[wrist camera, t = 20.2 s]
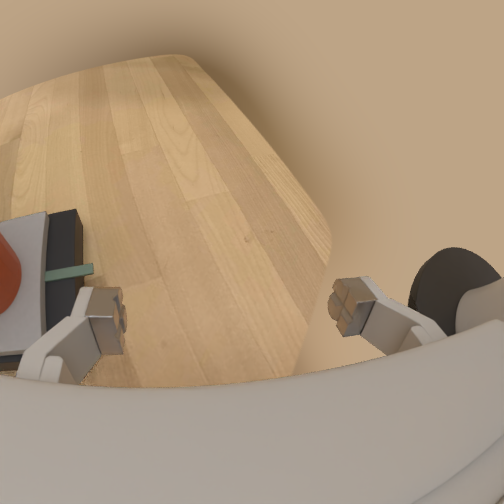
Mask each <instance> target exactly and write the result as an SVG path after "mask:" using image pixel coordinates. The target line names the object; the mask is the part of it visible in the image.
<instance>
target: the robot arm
mask: <svg viewBox="0 0 504 504" xmlns="http://www.w3.org/2000/svg"><path fill="white" fill-rule="evenodd" d="M332 288H333V290H334V292H333V293H332V294H331V295H330V296H329V300H328V311H329V314H330V316H331V318H332V319H334V320H336V321H337V325H336V326H337V328H338V330H339V331H340V333H341V335H342V336H343V337H347V336H354V335H360V336H362V337H363V338H364V339H366V340H367V341H368V342H370V343H371V344H372V345H374V346H375V347H376V348H378V349H379V350H381V351H382V352H383V353H384V354H386V355H387V356H384V357H380V358H376V359H372V360H368V361H364V362H360V363H356V364H351V365H346V366H342V367H337V368H332V369H327V370H322V371H317V372H311V373H306V374H300V375H294V376H287V377H281V378H274V379H266V380H259V381H250V382H241V383H231V384H220V385H206V386H189V387H157V388H133V387H102V386H86V385H79V384H80V382H81V381H82V380H83V378H84V377H85V376H86V375H87V373H88V372H89V371H90V370H91V368H92V367H93V366H94V364H95V363H96V362H97V361H98V359H99V358H100V357H101V355H123V354H124V345H125V338H124V333H125V332H126V328H127V315H126V308H125V306H124V305H123V304H122V300H123V293H122V289H121V288H120V287H81V288H80V290H79V293H78V296H77V298H76V301H75V304H74V307H73V310H72V312H71V315H70V317H69V316H67V317H65V318H64V319H63V320H62V321H60V322H59V323H58V324H57V325H55V326H54V327H53V328H52V329H50V330H49V331H48V332H47V333H46V334H44V335H43V336H42V337H41V338H40V339H38V340H37V341H36V342H35V343H34V344H32V345H31V346H30V347H29V348H28V349H26V350H25V351H24V353H23V356H22V358H21V361H20V364H19V367H18V370H17V373H16V376H15V377H12V376H6V375H1V374H0V504H504V277H503V278H501V279H499V280H497V281H495V282H493V283H491V284H488V285H485V286H483V287H479V288H476V289H471V290H469V291H467V292H466V293H465V294H464V295H463V296H462V298H461V299H460V302H459V304H458V308H457V312H456V322H455V330H456V334H454V335H451V336H449V337H447V335H446V334H445V333H444V332H443V331H442V329H441V328H440V327H439V326H438V325H437V323H436V322H435V321H434V320H432V319H430V318H428V317H426V316H424V315H422V314H420V313H418V312H417V311H415V310H413V309H411V308H409V307H407V306H405V305H403V304H401V303H399V302H397V301H395V300H393V299H388V298H387V297H386V295H385V294H384V293H383V292H382V291H381V289H380V288H379V287H378V286H377V285H376V284H375V282H374V281H373V280H372V279H371V278H370V277H368V276H363V277H357V278H345V279H336V280H335V282H334V284H333V287H332Z"/></svg>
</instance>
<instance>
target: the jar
mask: <svg viewBox="0 0 504 504" xmlns="http://www.w3.org/2000/svg"><path fill="white" fill-rule="evenodd" d="M21 275H22V271H21V264H20V261H19V258H18V257H17V255H16V253H15V252H14V250H13V249H12V248H11V246H10V245H9V244H8V242H7V241H6V240H5V238H4V237H3V235H2V234H1V232H0V314H2V313H3V312H4V311H6V310H7V309H8V307H9V306H10V305H11V304H12V302H13V301H14V299H15V297H16V295H17V293H18V290H19V287H20V283H21Z"/></svg>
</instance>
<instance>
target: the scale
mask: <svg viewBox="0 0 504 504" xmlns="http://www.w3.org/2000/svg"><path fill="white" fill-rule="evenodd" d="M0 232H1V234H2V235H3V237H4V238H5V240H6V241H7V242H8V244H9V245H10V246H11V248H12V249H13V250H14V252H15V253H16V255H17V257H18V258H19V261H20V264H21V271H22V275H21V283H20V287H19V290H18V293H17V295H16V297H15V299H14V301H13V302H12V304H11V305H10V306H9V307H8V309H7V310H6V311H4V312H3V313H2V314H0V371H8V370H18V367H19V364H20V361H21V358H22V356H23V353H24V351H25V350H26V349H28V348H29V347H30V346H31V345H32V344H34V343H35V342H36V341H37V340H38V339H40V338H41V337H42V336H43V335H44V334H46V333H47V332H48V331H49V330H50V329H52V328H53V327H54V326H55V325H57V324H58V323H59V322H60V321H62V320H63V319H64V318H65V317H67V316H69V317H70V315H71V312H72V310H73V307H74V304H75V301H76V298H77V296H78V293H79V290H80V288H81V287H84V276H86V275H91V274H94V272H93V263H91V264H85V265H83V225H82V223H81V220H80V218H79V215H78V213H77V210H76V209H73V210H68V211H63V212H58V213H53V214H49V215H47V213H46V211H44V212H40V213H36V214H31V215H27V216H23V217H19V218H15V219H11V220H7V221H3V222H0Z"/></svg>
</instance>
